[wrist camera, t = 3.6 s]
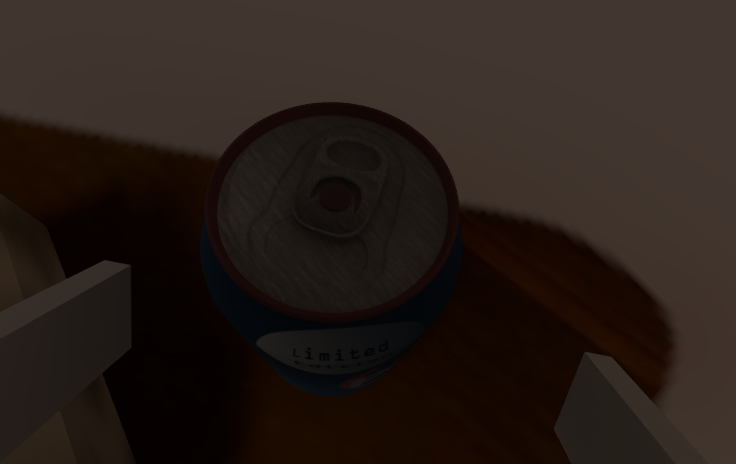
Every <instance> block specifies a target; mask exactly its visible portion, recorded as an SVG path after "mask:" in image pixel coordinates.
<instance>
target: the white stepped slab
mask: <svg viewBox="0 0 736 464" xmlns="http://www.w3.org/2000/svg"><path fill="white" fill-rule="evenodd" d="M64 280H66V276H65V274H64V271H63V268H62V266H61V263H60V261H59V258H58V255H57V253H56V250H55V247H54V245H53V242H52V239H51V237H50V234H49V232H48V229H47V227H46V226H45V225H44V224H42V223H41V222H39V221H38V220H36V219H35V218H34V217H32V216H31V215H29V214H28V213H27V212H25V211H24V210H22V209H21V208H20V207H18V206H17V205H15V204H14V203H12V202H11V201H10V200H8V199H7V198H5V197H4V196H3V195H1V194H0V312H1V311H3V310H5V309H7V308H9V307H11V306H13V305H15V304H17V303H19V302H21V301H23V300H25V299H27V298H29V297H31V296H33V295H35V294H37V293H40V292H42V291H44V290H46V289H48V288H50V287H52V286H54V285H56V284H58V283H60V282H62V281H64ZM0 464H136V461H135V459H134V456H133V453H132V451H131V448H130V445H129V443H128V440H127V438H126V435H125V432H124V430H123V427H122V424H121V422H120V419H119V416H118V414H117V411H116V408H115V406H114V403H113V401H112V398H111V395H110V393H109V390H108V387H107V385H106V382H105V379H104V377H103V374H101V375H99V376H98V377H97V378H96V379H95V380H94V381H93V382H91V383H90V384H89V385H88V386H87V387H86V388H85V389H83V390H82V391H81V392H80V393H79V394H78V395H77V396H76V397H74V398H73V399H72V400H71V401H70V402H69V403H68V404H66V405H65V406H64V407H63V408H62V409H61V410H60V411H58V412H57V413H56V414H55V415H54V416H53V417H52V418H50V419H49V420H48V421H47V422H46V423H45V424H44V425H42V426H41V427H40V428H39V429H38V430H37V431H36V432H35V433H33V434H32V435H31V436H30V437H29V438H28V439H27V440H25V441H24V442H23V443H22V444H21V445H20V446H19V447H17V448H16V449H15V450H14V451H13V452H12V453H11V454H9V455H8V456H7V457H6V458H5V459H4V460H3V461H2V462H0Z"/></svg>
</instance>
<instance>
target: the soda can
mask: <svg viewBox="0 0 736 464" xmlns="http://www.w3.org/2000/svg"><path fill="white" fill-rule="evenodd" d="M462 252H463V242H462V232H461V226H460V222H459V201H458V195H457V190H456V187H455V183H454V180H453V177H452V175H451V173H450V170H449V168H448V166H447V165H446V163H445V161H444V160H443V158H442V157H441V155H440V154H439V152H438V151H437V150H436V148H435V147H434V146H433V145H432V144H431V143H430V142H429V141H428V140H427V139H426V138H425V137H424V136H423V135H421V134H420V133H419V132H418V131H417V130H415V129H414V128H413V127H411V126H410V125H408V124H406V123H405V122H403V121H401V120H400V119H398V118H396V117H394V116H392V115H390V114H387V113H385V112H382V111H380V110H377V109H373V108H370V107H366V106H362V105H356V104H350V103H338V102H323V103H312V104H305V105H300V106H296V107H292V108H288V109H285V110H282V111H280V112H277V113H275V114H272V115H270V116H268V117H266V118H264V119H262V120H261V121H259V122H257V123H255V124H254V125H253V126H251V127H249V128H248V129H247V130H246V131H245V132H243V133H242V134H241V135H240V136H238V137H237V138H236V139H235V140H234V141H233V142H232V143H231V144H230V146H229V147H228V148H227V150H226V151H225V152H224V153H223V155H222V156H221V158H220V159H219V161H218V163H217V164H216V166H215V168H214V170H213V173H212V175H211V178H210V180H209V184H208V187H207V192H206V197H205V218H204V221H203V226H202V231H201V240H200V256H201V265H202V270H203V274H204V278H205V281H206V284H207V287H208V289H209V292H210V294H211V296H212V298H213V300H214V302H215V303H216V305H217V306H218V308H219V309H220V311H221V312H222V314H223V315H224V316H225V317H226V319H227V320H228V321H229V322H230V323H231V324H232V325H233V326H234V327H235V328H236V329H237V330H238V332H239V333H240V334H241V335H242V336H243V337H244V338H245V339H246V340H247V341H248V342H249V343H250V344H251V345H252V346H253V347H254V348H255V349H256V350H257V351H258V352H259V353H260V355H261V356H262V357H263V358H264V359H265V360H266V361H267V362H268V363H269V364H270V365H271V366H272V367H273V368H274V369H275V370H276V371H277V372H278V373H279V374H280V375H281V376H282V377H283V378H284V379H285V380H286V381H288V382H289V383H290V384H292V385H293V386H295V387H297V388H299V389H301V390H303V391H306V392H308V393H312V394H316V395H321V396H343V395H348V394H352V393H356V392H358V391H361V390H363V389H365V388H367V387H369V386H371V385H372V384H374V383H375V382H377V381H378V380H379V379H381V378H382V377H383V376H384V375H385V374H386V373H387V372H388V371H389V370H390V369H391V368H392V367H393V365H394V364H395V363H396V362H397V361H398V360H399V359H400V358H401V357H402V356H403V354H404V353H405V352H406V351H407V350H408V349H409V348H410V347H411V346H412V345H413V343H414V342H415V341H416V340H417V339H418V338H419V337H420V336H421V335H422V334H423V332H424V331H425V330H426V329H427V328H428V327H429V326H430V325H431V324H432V323H433V321H434V320H435V319H436V318H437V317H438V315H439V314H440V313H441V312H442V310H443V309H444V307H445V306H446V304H447V302H448V301H449V299H450V297H451V295H452V293H453V291H454V289H455V286H456V283H457V280H458V277H459V273H460V268H461V262H462Z"/></svg>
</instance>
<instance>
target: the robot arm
mask: <svg viewBox="0 0 736 464" xmlns="http://www.w3.org/2000/svg"><path fill="white" fill-rule="evenodd" d="M130 348H131V265H127V264H122V263H116V262H111V261H106V260H104V261H102V262H100V263H98V264H96V265H94V266H92V267H90V268H88V269H86V270H84V271H82V272H80V273H78V274H76V275H74V276H72V277H70V278H68V279H66V280H64V281H62V282H60V283H58V284H56V285H54V286H52V287H50V288H48V289H46V290H44V291H42V292H40V293H37V294H35V295H33V296H31V297H29V298H27V299H25V300H23V301H21V302H19V303H17V304H15V305H13V306H11V307H9V308H7V309H5V310H3V311H1V312H0V462H2V461H3V460H4V459H5V458H6V457H7V456H8V455H9V454H11V453H12V452H13V451H14V450H15V449H16V448H17V447H19V446H20V445H21V444H22V443H23V442H24V441H25V440H27V439H28V438H29V437H30V436H31V435H32V434H33V433H35V432H36V431H37V430H38V429H39V428H40V427H41V426H42V425H44V424H45V423H46V422H47V421H48V420H49V419H50V418H52V417H53V416H54V415H55V414H56V413H57V412H58V411H60V410H61V409H62V408H63V407H64V406H65V405H66V404H68V403H69V402H70V401H71V400H72V399H73V398H74V397H76V396H77V395H78V394H79V393H80V392H81V391H82V390H83V389H85V388H86V387H87V386H88V385H89V384H90V383H91V382H93V381H94V380H95V379H96V378H97V377H98V376H99V375H101V374H102V373H103V372H104V371H105V370H106V369H107V368H109V367H110V366H111V365H112V364H113V363H114V362H115V361H116V360H118V359H119V358H120V357H121V356H122V355H123V354H124V353H126V352H127V351H128V350H129V349H130ZM554 430H555V432H556V434H557V436H558V438H559V440H560V442H561V444H562V446H563V448H564V450H565V452H566V454H567V456H568V458H569V460H570V462H571V464H708V463H707V462H706V461H705V459H703V457H702V456H701V455H700V454H699V453H698V452H697V451H696V450H695V449H694V447H693V446H692V445H691V444H690V443H689V442H688V441H687V440H686V439H685V438H684V436H683V435H682V434H681V433H680V432H679V431H678V430H677V429H676V428H675V426H674V425H673V424H672V423H671V422H670V421H669V420H668V419H667V418H666V417H665V415H664V414H663V413H662V412H661V411H660V410H659V409H658V408H657V407H656V405H655V404H654V403H653V402H652V401H651V400H650V399H649V398H648V397H647V396H646V394H645V393H644V392H643V391H642V390H641V389H640V388H639V387H638V386H637V385H636V383H635V382H634V381H633V380H632V379H631V378H630V377H629V376H628V375H627V374H626V372H625V371H624V370H623V369H622V368H621V367H620V366H619V365H618V364H617V363H616V361H615V360H614V359H613V358H612V357H609V356H604V355H598V354H593V353H588V352H584V355H583V357H582V360H581V362H580V365H579V367H578V370H577V372H576V375H575V377H574V380H573V382H572V385H571V387H570V390H569V392H568V395H567V397H566V400H565V402H564V405H563V407H562V410H561V412H560V414H559V417H558V419H557V422H556V424H555V427H554Z"/></svg>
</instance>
